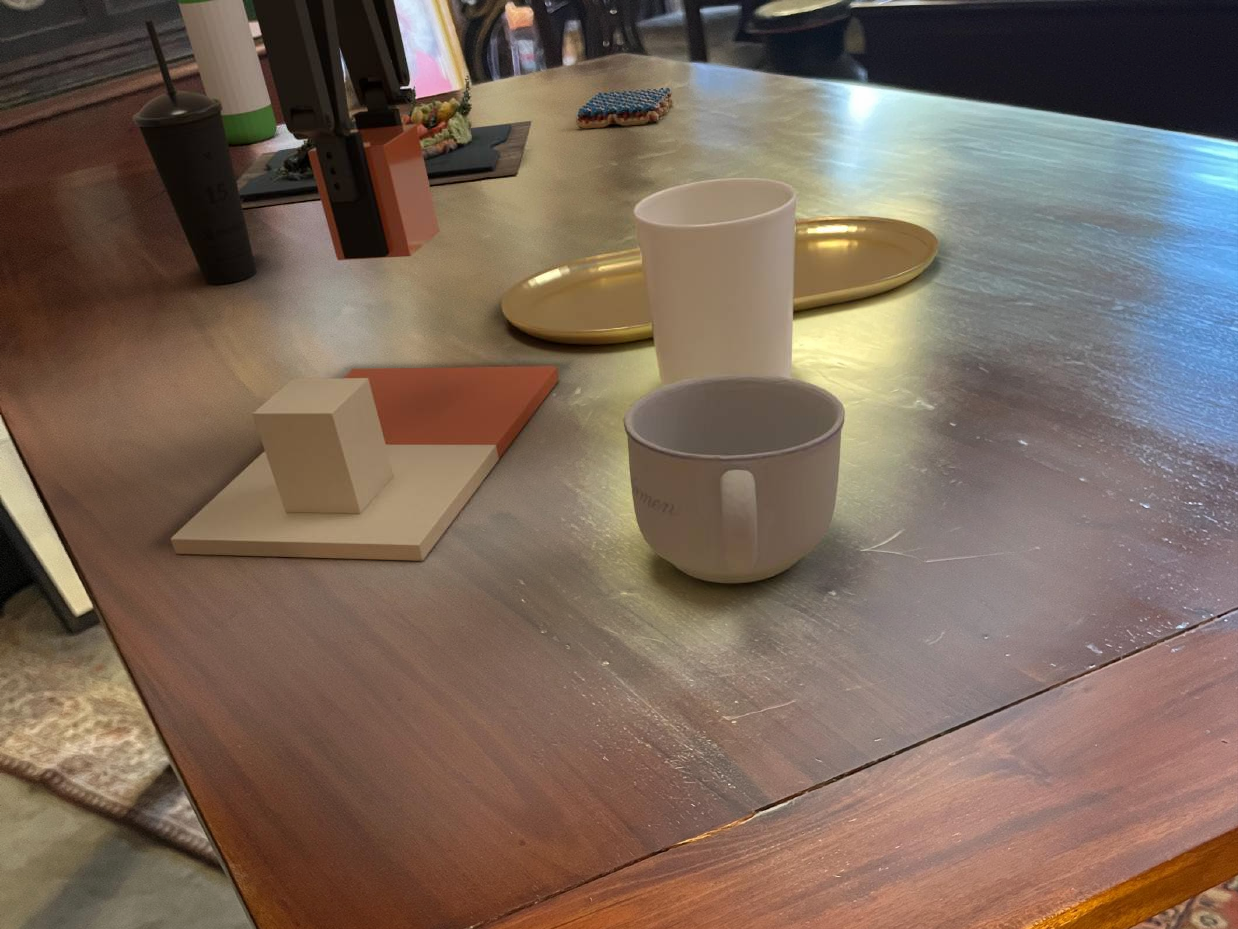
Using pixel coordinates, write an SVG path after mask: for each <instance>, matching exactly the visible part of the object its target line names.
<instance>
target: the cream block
mask: <svg viewBox="0 0 1238 929" xmlns="http://www.w3.org/2000/svg"><path fill="white" fill-rule="evenodd" d="M252 417H253V419H254V423H255V426H256V429H257V431H258V435H259V437H260V440H261V443H262V445H263V449H264V451H265V452H266V455H267V458H268V461H269V464H270V467H271V470H272V473H273V476H274V479H275V482H276V485H277V488H278V491H279V494H280V497H281V500H282V503H283V506H284V509H285V512H298V513H353V514H361V513H362V512H363V511H364V509H365V508H366V507H367V506H368V505H369V504H370V503H371V501H372V500H373V499H374V498H375V497H376V496H377V495H378V493H379V492H380V491H381V490H382V489H383V488H384V486H385V485H386V484H387V483H388V482H389V481H390V480H391V478H392V477H393V476H394V475H393V471H392V467H391V463H390V459H389V455H388V452H387V448H386V444H385V440H384V436H383V433H382V429H381V425H380V421H379V417H378V414H377V410H376V406H375V402H374V398H373V395H372V391H371V387H370V383H369V379H368V378H344V377H343V378H342V377H341V378H334V377H333V378H291V380H289V381H288V382H287V383H286V384H285V385H283V386H282V387H281V388H280V389H279V390H278V391H277V392H275V393H274V394H273V395H272V396H270V398H268V399H267V400H266V401H264V403H263V404H262V405H261V406H259V407H258V408H257V409H256V410H255V411H253V412H252Z"/></svg>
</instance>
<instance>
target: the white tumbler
mask: <svg viewBox="0 0 1238 929" xmlns="http://www.w3.org/2000/svg"><path fill="white" fill-rule="evenodd" d="M797 204H798V192H797V190H796V189H795V188H794V186H792V185H790V184H788V183H785V182H783V181H780V180H775V179H769V178H761V177H760V178H759V177H727V178H726V177H725V178H717V179H716V178H715V179H708V180H707V179H705V180H701V181H700V180H699V181H694V182H688V183H683V184H679V185H675V186H672V187H668V188H665V189H662V190H660V191H657V192H654V193H652V194H650V195H648V196H646V197H644V198H643V199H641V200H639V201H638V202H637V203H636V205H634V207H633V210H632V218H633V222H634V225H635V231H636V235H637V241H638V242H637V243H638V248H639V249H640V255H641V262H642V268H643V274H644V281H645V287H646V293H647V300H648V306H649V312H650V319H651V325H652V331H653V338H652V339H653V343H654V349H655V356H656V362H657V369H658V375H659V380H660V381H659V382H660V387H663V386H666V385H669V384H673V383H676V382H679V381H683V380H688V379H693V378H698V377H703V376H714V375H726V374H750V375H765V376H779V377H785V378H791V379H792V365H793V364H792V361H793V360H792V359H793V334H794V332H793V329H794V328H793V327H794V311H793V296H794V259H795V223H796V220H797V219H796V218H797Z"/></svg>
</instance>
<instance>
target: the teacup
mask: <svg viewBox="0 0 1238 929" xmlns="http://www.w3.org/2000/svg"><path fill="white" fill-rule="evenodd" d="M845 416H846V411H845V408H844V405H843V403H842V402H841V400H840V399H839V398H838V397H837V396H835V395H834V394H833V393H832V392H830V391H829V390H827V389H825V388H823V387H821V386H818V385H815V384H813V383H811V382H807V381H804V380H799V379H796V378H792V377H791V378H785V377H779V376H765V375H750V374H726V375H714V376H703V377H698V378H693V379H688V380H683V381H679V382H676V383H673V384H669V385H666V386H663V387H661V386H660V387H658V388H656V389H653V390H652V391H650V392H649V391H648V393H645V394H644V395H642V396H640V397H639V398H638V399H636V400H634V402H633V403H632V404H630V405H629V406H628V407H627V409H626V412H625V414H624V416H623V419H622V420H623V421H622V422H623V423H622V424H623V428H624V431H625V434H626V437H627V452H628V467H629V468H628V469H629V478H630V486H631V487H630V488H631V496H632V502H633V508H634V514H635V520H636V523H637V526H638V529H639V532H640V533H641V535H642V537H643V539H644V541H645V542H646V543H647V544H648V546H649V547H650V548H651V550H653V551H654V553H656V554H657V555H658V556H659V557H661V558H662V559H664V560H666V561H667V562H669V563H670V564H672V565H673V566H674V567H675V568H676V569H678V570H680V571H681V572H683V573H684V574H686V575H688V576H690V577H692V578H695V579H698V580H702V581H705V582H711V583H719V584H746V583H753V582H759V581H763V580H766V579H769V578H773V577H775V576H777V575H780V574H781V573H783V572H785V571H787V570H788V569H790V568H791V567H793V566H794V565H795V564H796V563H797V562H798V561H799V560H801V559H802V558H804V557H806V556H807V555H809V554H810V553H811V552H812V551H813V550H814V549H815V548H817V546H818V545H819V544H820V543H821V542H822V540H823V539H824V537H825V536H826V535H827V533H828V531H829V528H830V525H831V523H832V521H833V516H834V512H835V508H836V500H837V493H838V485H839V474H840V461H841V443H842V431H843V430H842V429H843V428H844V424H845V419H846V418H845Z"/></svg>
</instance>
